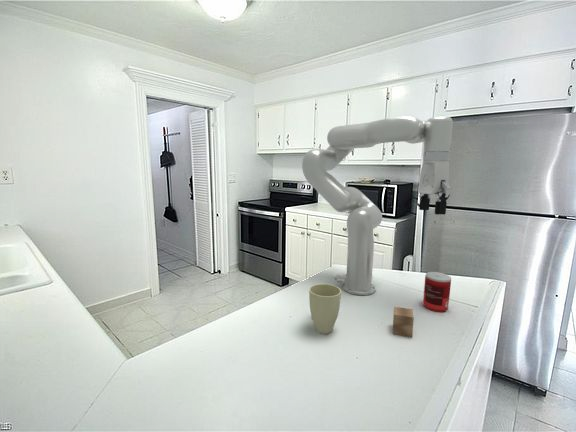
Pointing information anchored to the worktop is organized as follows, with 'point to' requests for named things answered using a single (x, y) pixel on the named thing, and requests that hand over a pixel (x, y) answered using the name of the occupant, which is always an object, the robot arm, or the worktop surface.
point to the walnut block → (403, 322)
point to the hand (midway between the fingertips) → (431, 211)
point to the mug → (324, 306)
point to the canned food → (437, 291)
